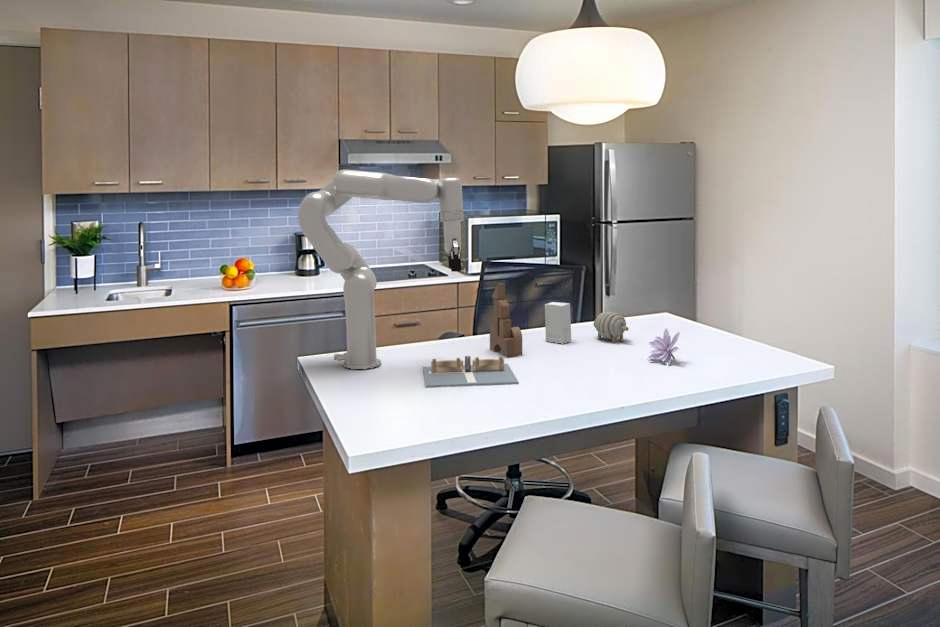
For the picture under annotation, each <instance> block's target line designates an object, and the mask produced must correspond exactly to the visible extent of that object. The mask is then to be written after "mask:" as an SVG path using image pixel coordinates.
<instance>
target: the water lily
mask: <svg viewBox="0 0 940 627" xmlns="http://www.w3.org/2000/svg"><path fill="white" fill-rule="evenodd" d="M680 333H681V331H678V332H677V333H675V335H673V338H672V339H671V335H670V332H669V331H668V329H667V328H664V330H663V334H662V335H663V338H662V337H661V336H655V338H654V339H653V341H649V342H648V345H649V347H651V348H653V349H654V350H652V351H650V352H649V353H650V355H649V356H648V357H647V358H649V359H648V360H647V361H651V359H652V360H655V359H658V358H660V357H661V361H662V362H664V364H665V363H668V364H669V365H670V364H671V361H672V359H673V360H674V359H676V357H675V355H674V354H673V353H675V352H677V351H678V350H679V347H678V346H675V344H676V343H677V341H678V339H679V337H680V335H681V334H680Z"/></svg>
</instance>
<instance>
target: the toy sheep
mask: <svg viewBox="0 0 940 627" xmlns="http://www.w3.org/2000/svg"><path fill="white" fill-rule="evenodd" d="M593 327H594V328H595V330H596V331H597V339H598V340H599V339H600V340H602V338H603V339H606V340H611V343H612V342H615V343H616V339H618V338H619V341H620V342H623V341H624V333H625V332H626V331H627V332H628V331H629V328H630V327H629V326H627V322H626V319H625V317H624V316H622V315H620V313H617V312H616V311H605V312H601V313H599V314H598V315H597V317H596V318H595V319H594V320H593Z"/></svg>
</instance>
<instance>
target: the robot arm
mask: <svg viewBox="0 0 940 627" xmlns="http://www.w3.org/2000/svg"><path fill="white" fill-rule="evenodd" d="M462 185H463V184H462V180H461V179H460V178H459V177H446V178H440V179H437V178H436V179H435V178H434V179H433V178H422V177H421V178H420V177H411V176H410V177H409V176H401V175H394V174H390V173H386V172H378V171H366V170H357V169H356V170H354V169H340V170H338V171H337V172H336V173H335V174H334V175H333V177H332V180H331V181H330V182H328V183H327V184H326V185H325V186H323V187H322V188H321V189H320V190H318V191H312V192H310V193H308V194H307V195H306V196H305V197H304V198H303V199H302V201H301V202H300V205H299V207H298V212H297V219H298V225H299V227H300V230H301V232H302V233H303V235H304V237H305V238H306V239H307V241H308V242H309V243H310V245H311V246H312V248H313V249H314V250H315V252H316V253H317V254H318V256H319V257H320V258H321V260H322V261H323V262H324V264H325V266H326V267H327V269H329V270H330V271H331V272H333V273H335V274H339V275H340V276H341V278H343V280H344V283H343V292H342V293H343V300H344V306H345V307H344V310H345V324H346V325H345V327H346V345H347V346H346V348H347V350H346V352H344V353H334V354H333V360H335V361H341V362H342V361H343V363H342V366H343V368H345V367H347V368H346V369H348V368H352V369H351V370H355V369H363V370H368V369H367V368H371V369H375V368H374V367H376V368H378V367H380V366H381V365H382V360H381V359H379V358H377V336H376V334H377V333H376V332H377V331H376V315H375V314H376V312H375V311H376V310H375V299H374V297H375V296H374V295H375V294H374V293H375V292H374V291H375V289H376V287H377V283H378V282H377V277H376V275H375V273H374V271H373V270H372V269H371V267H370V266H369V265H368V264H367V262H366V261H365V259H364V258H363V257H362V256H361V254H360V252H358V251H357V249H356V248H355V247H354V246H353V245H352V244H350V243H348V242H345V241H344V242H343V241H342V240H341V239H340V237H339V236H338V234H336V233H337V232H335V230H334V229H333V228H332V226H331V225H329V223H328V221H327V219H326V218H327V217H329V216H330V215H333V213H335V212H336V211H337V210H339V209H340V208H342V207H343V205H345V204H346V203H348V202H349V201H350V200H351V199H352V198H358V199H359V198H360V199H370V200H371V199H372V200H380V201H382V200H383V201H401V202H411V203H413V202H414V203H421V204H427V203H431V202H435V201H438V202H439V216H440V217H439V220H440V223H443V240H444V242H443V243H444V244H443V245H444V246H443V247H444V252H446V254H448V256H447V258H448V268H449V269H450V270H451V272H452V273H453V272H461V271H462V258H461V251H462V230H461V228H462V227H461V226H462V225H461V222H464V220H465V219H464V217H465V216H464V202H463V186H462ZM377 366H378V367H377Z"/></svg>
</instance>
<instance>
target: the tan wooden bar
mask: <svg viewBox="0 0 940 627" xmlns="http://www.w3.org/2000/svg"><path fill="white" fill-rule="evenodd" d="M474 358H475V359H472V365H473V371H485V370H504V364H505V358H504V356H503V355H502V356H500V355H499V356H498V358H481V359H480V357H477V356H475V357H474Z"/></svg>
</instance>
